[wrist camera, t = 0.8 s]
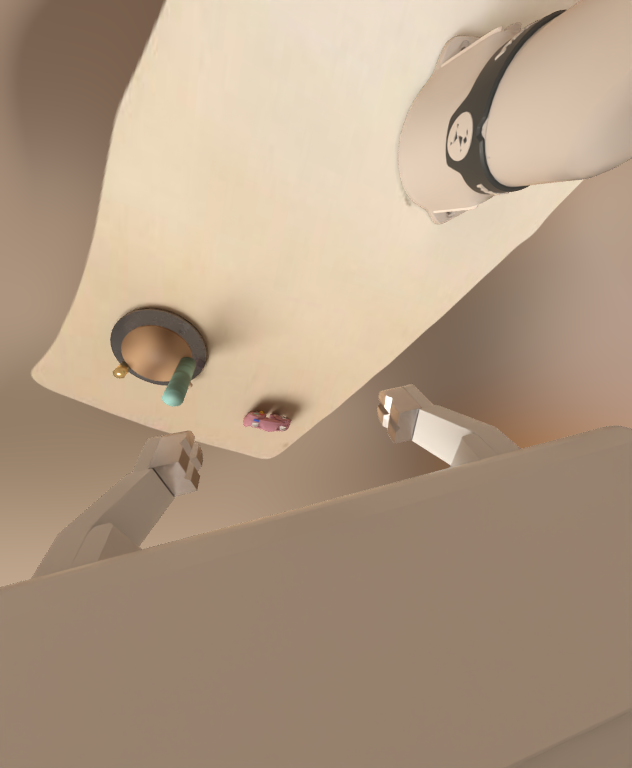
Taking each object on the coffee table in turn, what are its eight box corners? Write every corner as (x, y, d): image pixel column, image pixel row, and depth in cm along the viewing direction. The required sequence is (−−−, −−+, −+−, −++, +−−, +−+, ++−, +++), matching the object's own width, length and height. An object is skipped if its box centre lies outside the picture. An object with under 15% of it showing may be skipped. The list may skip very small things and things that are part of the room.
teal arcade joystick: (120, 375, 41) (86, 418, 32) (125, 315, 36) (86, 347, 27) (191, 390, 45) (177, 431, 37) (203, 338, 41) (191, 372, 32)
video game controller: (287, 411, 58) (295, 419, 52) (283, 429, 58) (290, 440, 52) (245, 404, 54) (248, 412, 48) (241, 424, 55) (243, 434, 48)
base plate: (179, 297, 38) (176, 299, 37) (220, 368, 46) (219, 373, 45) (91, 324, 37) (85, 327, 36) (149, 391, 46) (146, 396, 44)
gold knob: (127, 359, 41) (120, 368, 38) (134, 367, 42) (127, 376, 39) (118, 362, 41) (110, 371, 38) (125, 370, 42) (117, 379, 39)
